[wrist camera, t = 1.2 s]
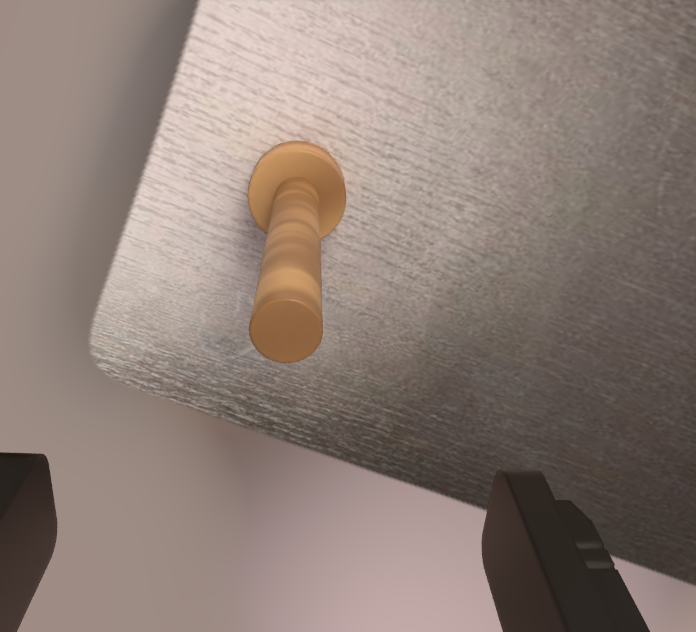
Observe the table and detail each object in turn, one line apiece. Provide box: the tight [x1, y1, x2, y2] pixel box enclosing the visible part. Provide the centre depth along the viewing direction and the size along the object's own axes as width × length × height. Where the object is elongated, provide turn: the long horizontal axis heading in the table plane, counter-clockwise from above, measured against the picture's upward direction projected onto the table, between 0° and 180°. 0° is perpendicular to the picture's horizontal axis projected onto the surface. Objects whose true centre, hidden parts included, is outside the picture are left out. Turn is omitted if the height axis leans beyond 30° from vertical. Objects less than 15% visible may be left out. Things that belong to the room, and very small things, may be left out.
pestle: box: [248, 141, 346, 363], centre depth 25 cm, size 4×4×15 cm
